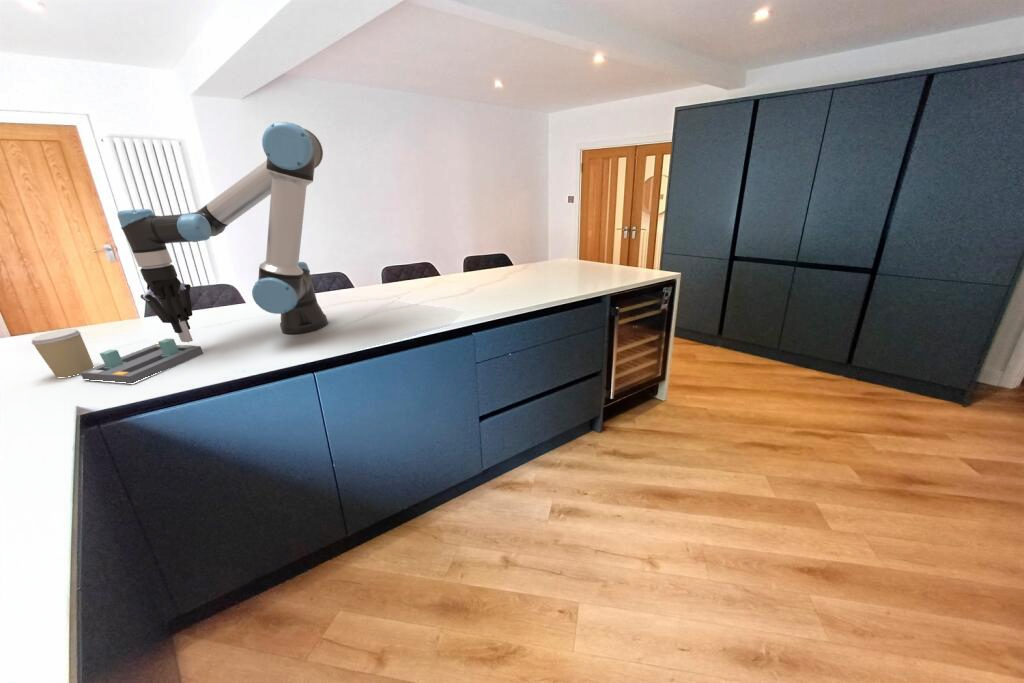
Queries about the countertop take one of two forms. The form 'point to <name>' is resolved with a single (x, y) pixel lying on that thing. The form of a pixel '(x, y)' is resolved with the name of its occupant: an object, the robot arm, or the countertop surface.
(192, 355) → the switch board
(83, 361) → the coffee cup
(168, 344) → the tab
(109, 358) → the tab
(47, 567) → the countertop surface
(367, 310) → the countertop surface
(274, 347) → the countertop surface
